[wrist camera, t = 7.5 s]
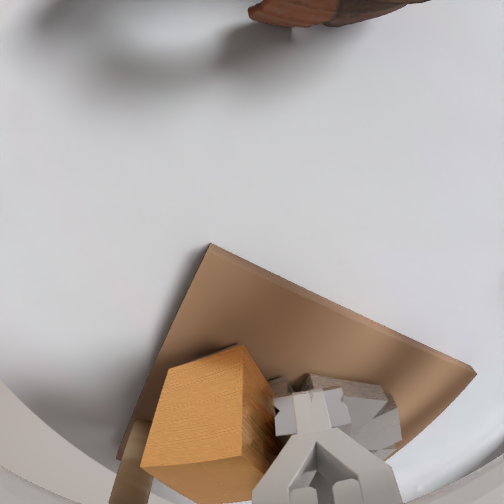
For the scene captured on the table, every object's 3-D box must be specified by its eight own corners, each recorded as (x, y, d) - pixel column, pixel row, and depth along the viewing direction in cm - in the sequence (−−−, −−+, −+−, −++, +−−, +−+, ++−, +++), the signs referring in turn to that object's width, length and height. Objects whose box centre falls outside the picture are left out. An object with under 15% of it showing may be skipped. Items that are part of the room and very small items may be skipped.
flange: (361, 276, 9) (439, 380, 4) (399, 451, 13) (422, 510, 9) (98, 374, 10) (53, 462, 6) (241, 497, 15) (241, 554, 10)
